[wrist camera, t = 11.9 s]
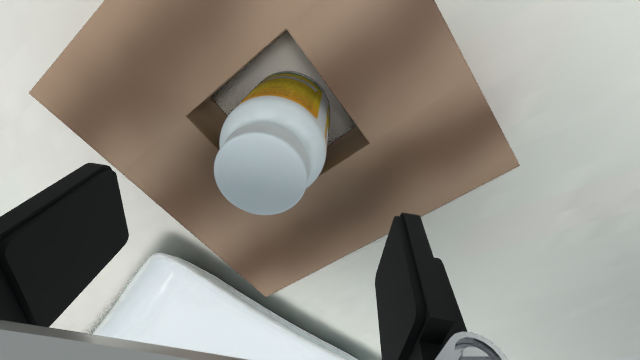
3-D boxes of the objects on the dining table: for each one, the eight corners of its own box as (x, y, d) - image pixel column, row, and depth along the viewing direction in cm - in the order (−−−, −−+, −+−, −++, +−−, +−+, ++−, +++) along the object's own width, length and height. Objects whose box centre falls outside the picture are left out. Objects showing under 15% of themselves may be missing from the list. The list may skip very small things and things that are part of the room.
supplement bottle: (342, 129, 22) (344, 207, 14) (275, 156, 24) (240, 243, 15) (309, 54, 20) (287, 94, 12) (236, 89, 21) (170, 147, 13)
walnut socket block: (491, 139, 22) (519, 165, 19) (274, 261, 29) (265, 297, 25) (314, -189, 15) (306, -247, 11) (79, 77, 21) (28, 93, 18)
